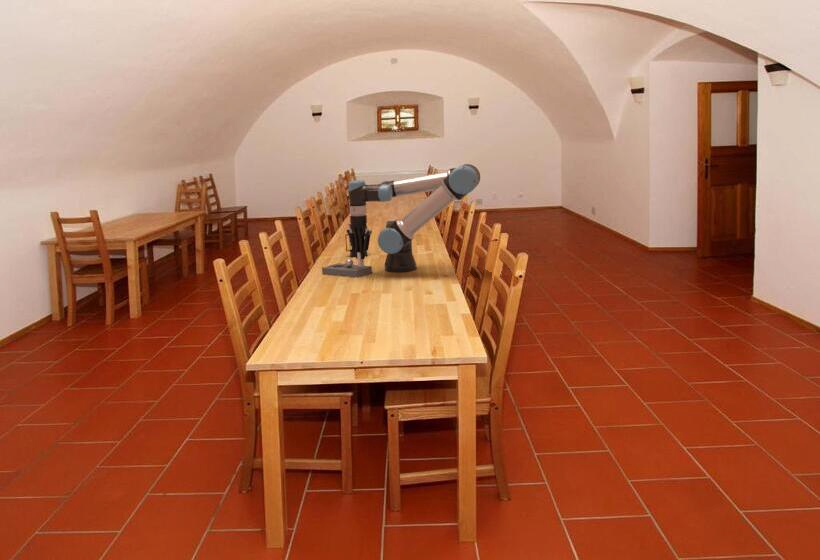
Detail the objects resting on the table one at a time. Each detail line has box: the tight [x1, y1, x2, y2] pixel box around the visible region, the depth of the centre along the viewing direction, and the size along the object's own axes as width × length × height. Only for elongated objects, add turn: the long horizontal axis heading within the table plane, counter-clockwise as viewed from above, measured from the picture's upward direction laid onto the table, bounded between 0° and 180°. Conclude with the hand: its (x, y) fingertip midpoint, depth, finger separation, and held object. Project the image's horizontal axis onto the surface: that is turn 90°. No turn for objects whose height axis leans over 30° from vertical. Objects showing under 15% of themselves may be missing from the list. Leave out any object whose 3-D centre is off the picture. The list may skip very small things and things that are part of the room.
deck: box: [321, 262, 373, 278], centre depth 341 cm, size 20×12×3 cm, turn 57°
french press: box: [344, 223, 369, 258], centre depth 382 cm, size 12×9×23 cm
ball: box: [344, 258, 354, 267], centre depth 340 cm, size 4×4×4 cm
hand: (360, 265), depth 336 cm, fingers closed
